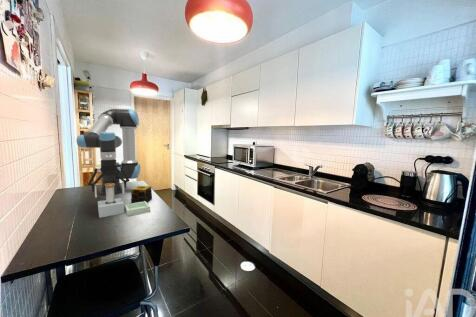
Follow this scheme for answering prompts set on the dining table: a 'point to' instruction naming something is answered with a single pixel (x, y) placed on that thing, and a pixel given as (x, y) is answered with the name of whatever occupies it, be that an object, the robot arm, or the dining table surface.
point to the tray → (136, 208)
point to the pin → (110, 193)
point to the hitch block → (110, 208)
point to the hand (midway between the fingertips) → (110, 195)
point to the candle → (141, 194)
